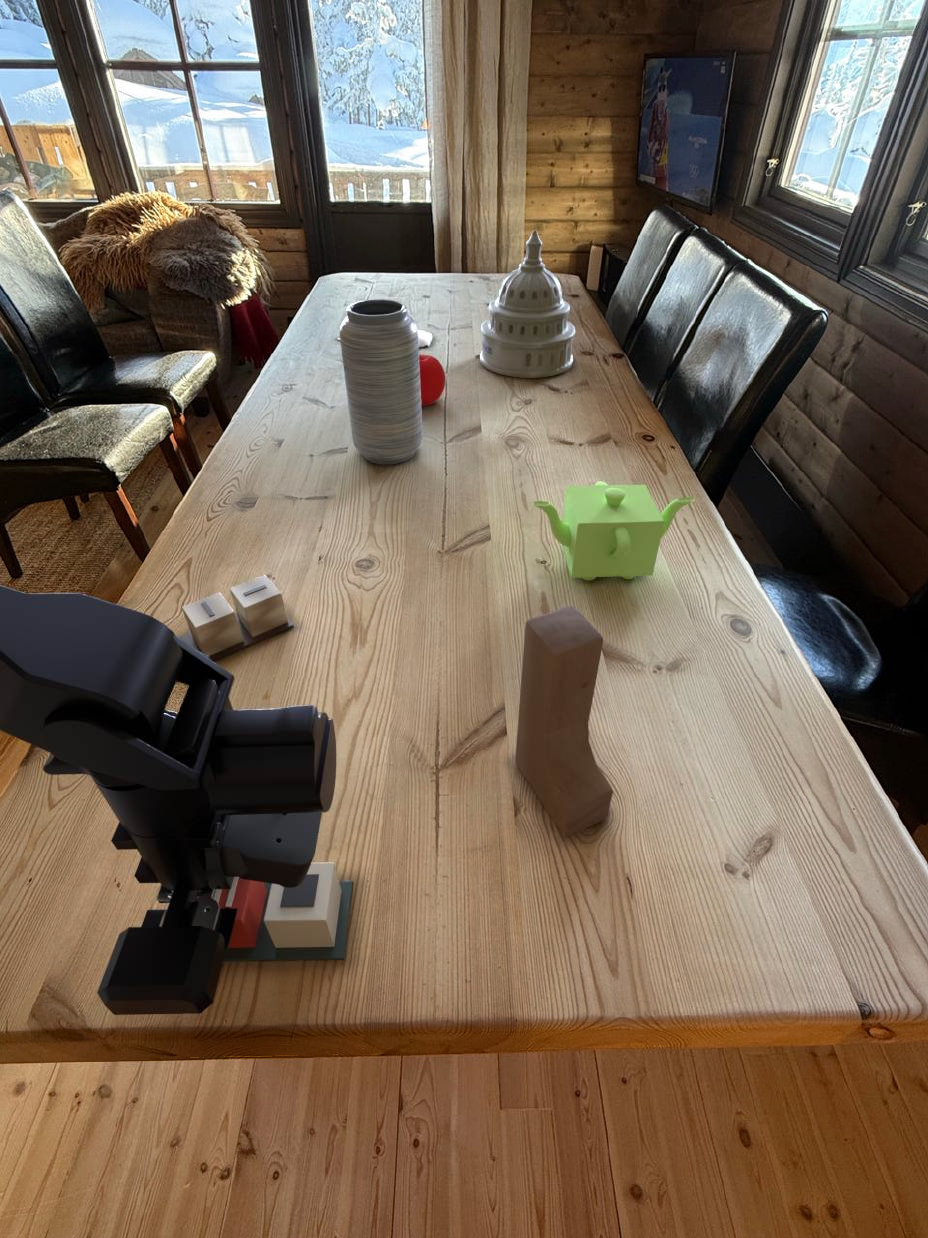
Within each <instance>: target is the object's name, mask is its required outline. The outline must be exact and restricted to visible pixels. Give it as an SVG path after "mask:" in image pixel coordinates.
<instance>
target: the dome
mask: <svg viewBox="0 0 928 1238" xmlns="http://www.w3.org/2000/svg"><path fill="white" fill-rule="evenodd" d="M525 245H526V249H525V250H526V252H525V257H524V258H523V262H521V263H520V264H519V266H518V268H515V269H514V270H512V271H510V272H509V273H508V274H507V275H506V276H505V277H504V278H503V280H502V282H501V284H500V287H499V290H498V295H497V298H495V299H492V301H490V303H489V305H488V312H489V318H488V319H486V320H484V321H483V322H482V323H481V325H480V332H481V336H482V337H481V352H480V354H479V361H480V363H481V364H482V366H483V367H484V368H486V369H487V370H489V371H491V372H493V373H496V374H498V375H501V376H507V377H511V378H512V377H513V378H524V379H539V378H548V377H554V376H558V375H560V374H563V373H565V372H568V371H569V369H570V368H571V367H572V365H573V362H574V356H573V354H572V351H573V341H574V338H575V336H576V327H575V326H574V325H573V324H572V322H570V321H568V317H569V314H570V311H571V306H570V304H569V302H567V301H566V300H564V299H563V293H562V286H561V284H560V282H559V279H558V278H557V276H555V274H553V272H551V271H550V270H548V269H546V264H545V263H543V262H542V261H543V259H542V246H543V241H542V240H541V239H540V236H539V234H538V230H536V229H534V230H532V232H531V234H530V237H529V239H528V240H527V241H526V243H525Z"/></svg>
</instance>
